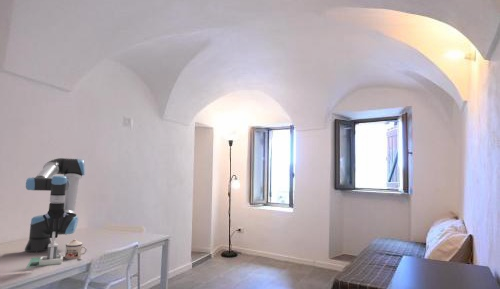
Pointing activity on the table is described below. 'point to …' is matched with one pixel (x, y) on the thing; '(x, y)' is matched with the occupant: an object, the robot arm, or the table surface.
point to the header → (51, 260)
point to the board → (35, 262)
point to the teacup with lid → (74, 249)
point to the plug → (52, 251)
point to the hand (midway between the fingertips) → (53, 243)
